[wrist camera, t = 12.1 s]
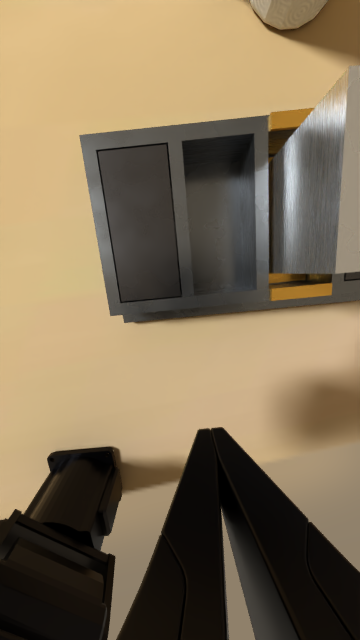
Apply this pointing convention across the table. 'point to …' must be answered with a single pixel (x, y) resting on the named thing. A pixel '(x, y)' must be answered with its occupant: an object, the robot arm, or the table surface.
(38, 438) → the table surface
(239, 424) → the table surface
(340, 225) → the plain gray rectangular block
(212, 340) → the table surface
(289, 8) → the paper towel roll
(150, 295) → the rack
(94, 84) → the table surface
